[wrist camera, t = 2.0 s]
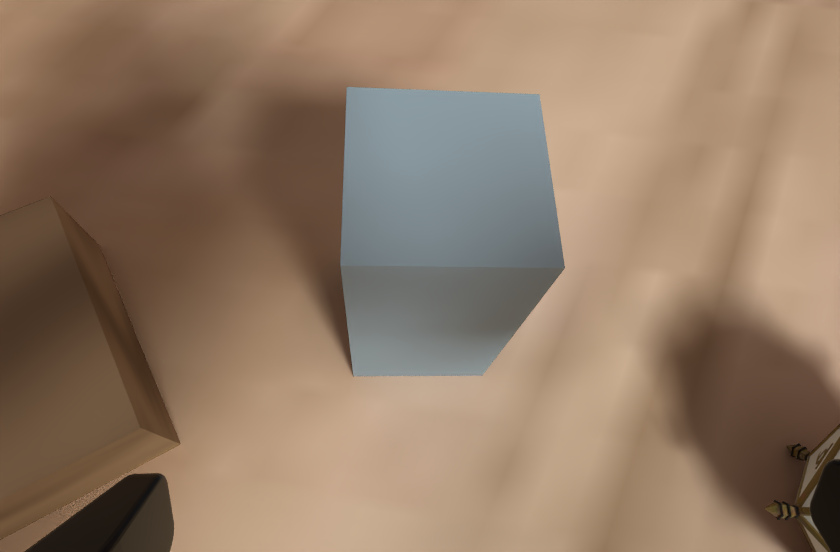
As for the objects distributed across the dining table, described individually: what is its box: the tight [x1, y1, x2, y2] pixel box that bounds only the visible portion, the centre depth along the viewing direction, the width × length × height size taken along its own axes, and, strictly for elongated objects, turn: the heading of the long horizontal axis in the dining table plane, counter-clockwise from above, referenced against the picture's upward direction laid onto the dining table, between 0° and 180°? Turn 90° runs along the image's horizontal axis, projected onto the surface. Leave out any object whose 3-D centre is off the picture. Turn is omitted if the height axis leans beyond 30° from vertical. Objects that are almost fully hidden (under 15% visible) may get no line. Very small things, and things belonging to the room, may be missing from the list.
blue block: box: [340, 87, 565, 376], centre depth 18 cm, size 5×5×10 cm
